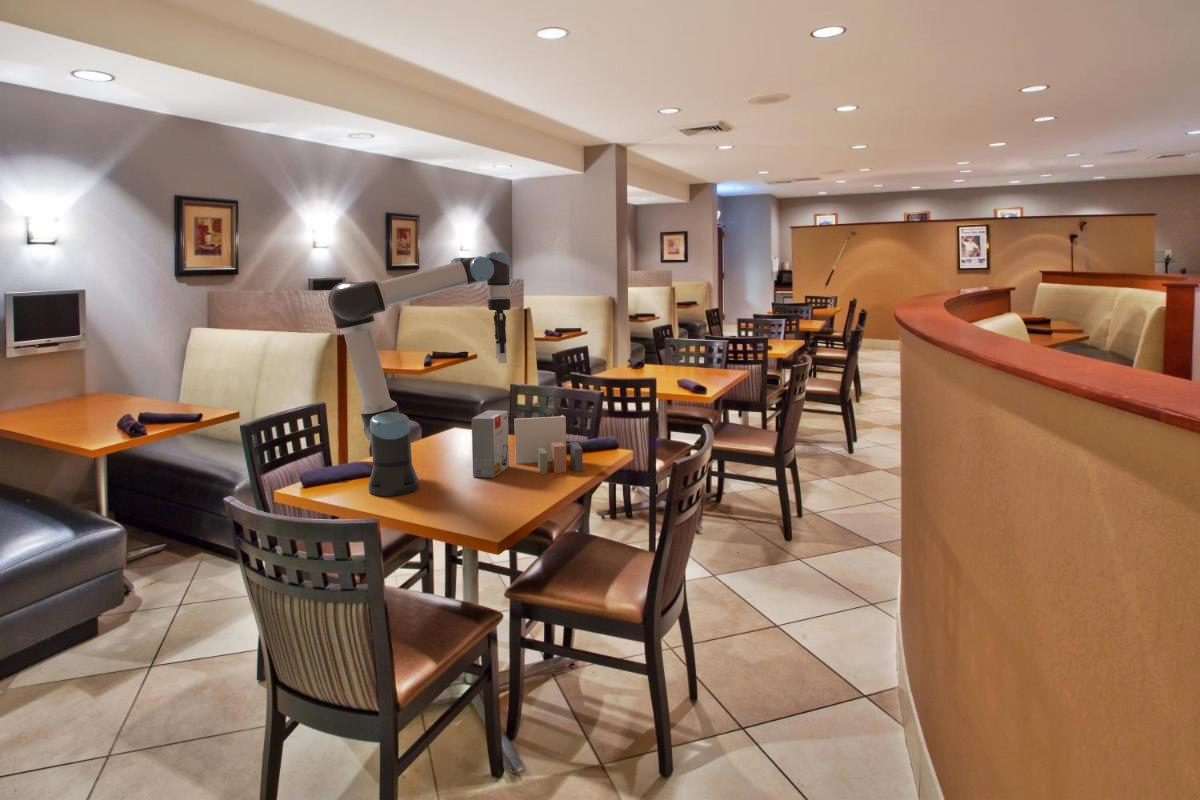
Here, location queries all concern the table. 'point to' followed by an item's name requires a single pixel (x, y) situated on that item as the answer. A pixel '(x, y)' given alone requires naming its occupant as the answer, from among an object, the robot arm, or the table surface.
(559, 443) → the book
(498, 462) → the hard drive box
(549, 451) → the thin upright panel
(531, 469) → the table surface
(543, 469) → the divider book
